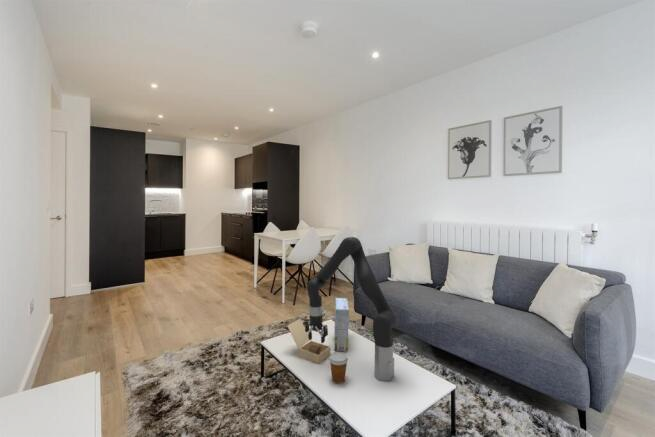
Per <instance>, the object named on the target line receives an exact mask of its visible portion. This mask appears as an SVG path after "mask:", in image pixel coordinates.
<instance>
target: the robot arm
mask: <svg viewBox="0 0 655 437" xmlns="http://www.w3.org/2000/svg"><path fill="white" fill-rule="evenodd" d="M363 248H364V247H363V246H362V243H361V241H360V239H358V237H355V236H348V237H345V238H343V239H342V240H341V242H340V244H339V246H338V247H337V249H336V250H335V252H334V253H333V254H332V256H331V257H330V258H329V260H328V261H327V262H326V263H325V264H324V265H323V266H322V268H320V270H319V271H318V273H317V275H316V276H315V277H314V278H312V279H311V280H309V281H308V283H307V286H306V290H307V295H308V298H309V308H308V313H309V315H308V317H309V318H308V320H306V321H305V323H304V327H305V332H307V333H308V338H309V340H310V341H312V339H313V332H316V333H318V334H319V335H320V344H324V343H325V342H326V337H327V336H328V335H329V331H328V325H327V324H325V325H324V324H323V320H324V319H323V316H324V315H323V302H322V301H323V300H322V295H321V294H320V292H319V291H320V290H321V289H322V288H323V287H324V285H326V284H327V282H328V281H329V280H330V279H331V277H333V275H334V274H335V273H336V271H337V270H338V269H339V267H340V265H341V264H342V262H344V261H345V259H347V258H348V257H350V256H351V259H352V261H353V263H354V267H355V273H356V274H355V275H356V279H357V282H358V285H359V287H360V289H361V291H362V293H363V294H364V295H365V296H366V297H367V299H369V300H370V301H371V302H372V304H373V306H374V307H375V310H376V312H377V314H376V315H375V316H374V317H373V320H372V335H373V339H374V370H373V371H374V372H373V373H374V374H373V375H374V377H375V378H376V379H377V380H379V381H382V382H383V381H384V382H391V381H392V379H393V378H394V376H395V357H394V339H393V337H392V336H391V329H392V328H393V327H394V326H395V325H396V322H397V321H396V316H395V314H394V313H393V310H392V309H391V307H390V305H389V303H388V302H387V300H386V298H385V295H384V293H383V292H382V289H381V287H380V285H379V282H378V281H377V280H378V279H377V278H376V276H375V273H374V272H373V270H372V267H371V266H370V263H369V261H368V259H367V257H366V255H365V252H364V249H363Z"/></svg>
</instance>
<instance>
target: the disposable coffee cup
mask: <svg viewBox="0 0 655 437" xmlns="http://www.w3.org/2000/svg"><path fill="white" fill-rule="evenodd" d="M328 360H329V364H330V365H329V366H330V372H331V380H332V382H333V383H336V384H342V383H344V382H345V380H346V372H347V366H348V361H349V358H348V355H347V354H346V353H344V352H342V351H335V352H332V353H331V355H330V356H329V357H328Z"/></svg>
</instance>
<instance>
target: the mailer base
mask: <svg viewBox="0 0 655 437" xmlns="http://www.w3.org/2000/svg"><path fill="white" fill-rule="evenodd" d="M313 344H315V345H318V346H321V354H319V355H317V354H314V353H311V352H309V347H310V346H311V345H313ZM331 348H332V346H330V345H325V344H324V343H321V342H317V341H313V340H310V341H308V342H307V343H305V344H304V345H302V346H301V347H299V348H298V358H300V359H302V360H305V361H308V362H311V363H314V364H316V365H320V364H321V363H323V362H324V361H325V360H326V359H327V358H329V357H330V355H331V354H332V353H331Z"/></svg>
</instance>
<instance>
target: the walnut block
mask: <svg viewBox="0 0 655 437" xmlns="http://www.w3.org/2000/svg"><path fill="white" fill-rule="evenodd" d="M309 352H311V353H314V354H317V355H319V354H321V346H318V345H315V344H313V345H311V346H310V347H309Z"/></svg>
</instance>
